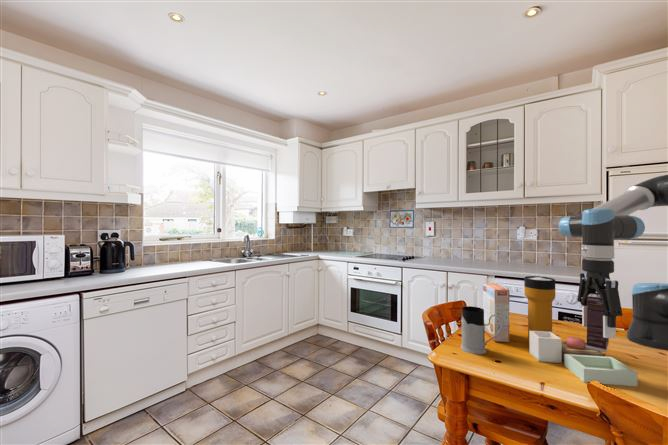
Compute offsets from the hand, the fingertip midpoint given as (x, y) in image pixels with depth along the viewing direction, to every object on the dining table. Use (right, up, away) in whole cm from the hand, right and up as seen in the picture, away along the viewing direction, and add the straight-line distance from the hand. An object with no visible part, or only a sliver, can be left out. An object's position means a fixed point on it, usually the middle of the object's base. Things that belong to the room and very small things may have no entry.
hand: (597, 331), depth 95 cm
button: (+2, -10, +12) cm, 15 cm away
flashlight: (-1, -14, +25) cm, 28 cm away
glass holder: (-27, -14, +19) cm, 36 cm away
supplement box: (0, -5, 0) cm, 5 cm away
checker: (+2, -14, +12) cm, 18 cm away
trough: (0, -14, 0) cm, 14 cm away
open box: (-8, -14, +13) cm, 20 cm away
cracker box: (-14, -14, +33) cm, 39 cm away
